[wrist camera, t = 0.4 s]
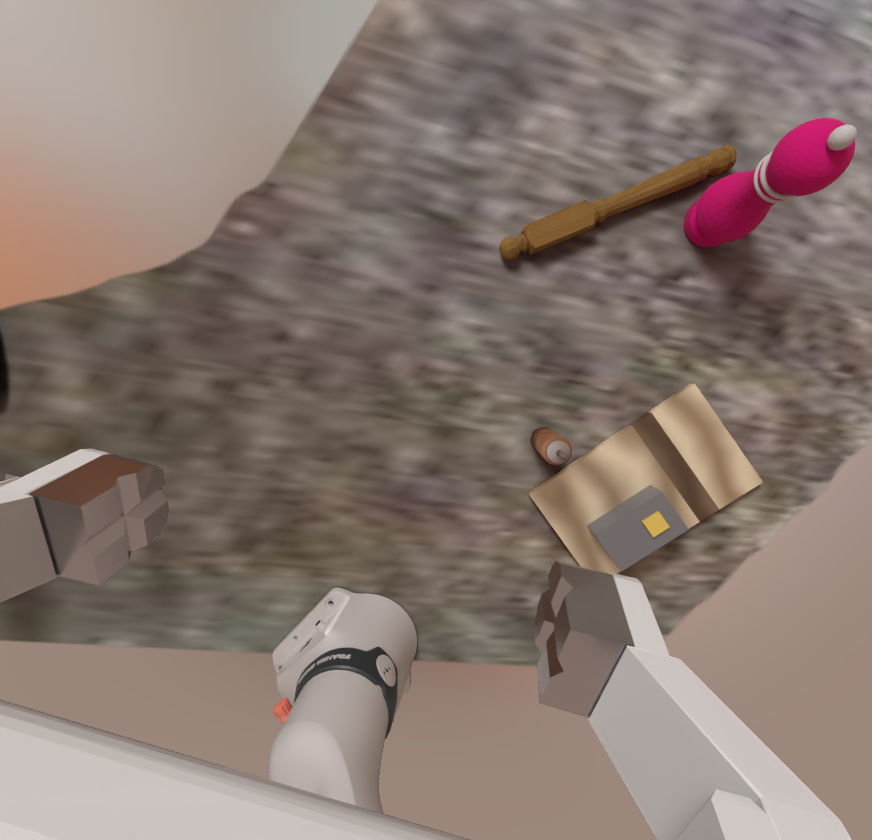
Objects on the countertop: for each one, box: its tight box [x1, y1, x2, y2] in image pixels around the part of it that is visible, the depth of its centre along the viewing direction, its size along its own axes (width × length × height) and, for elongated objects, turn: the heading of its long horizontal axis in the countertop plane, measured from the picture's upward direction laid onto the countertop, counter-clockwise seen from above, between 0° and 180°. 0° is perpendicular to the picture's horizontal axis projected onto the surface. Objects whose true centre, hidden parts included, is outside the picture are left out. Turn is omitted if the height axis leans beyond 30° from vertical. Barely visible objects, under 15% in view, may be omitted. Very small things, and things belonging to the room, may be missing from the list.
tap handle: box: [499, 145, 736, 260], centre depth 53 cm, size 3×3×30 cm
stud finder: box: [587, 485, 689, 572], centre depth 55 cm, size 10×6×4 cm, turn 126°
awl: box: [531, 427, 572, 465], centre depth 51 cm, size 3×3×13 cm
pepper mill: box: [684, 118, 857, 248], centre depth 44 cm, size 7×7×20 cm
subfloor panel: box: [528, 384, 763, 574], centre depth 57 cm, size 26×16×1 cm, turn 126°
